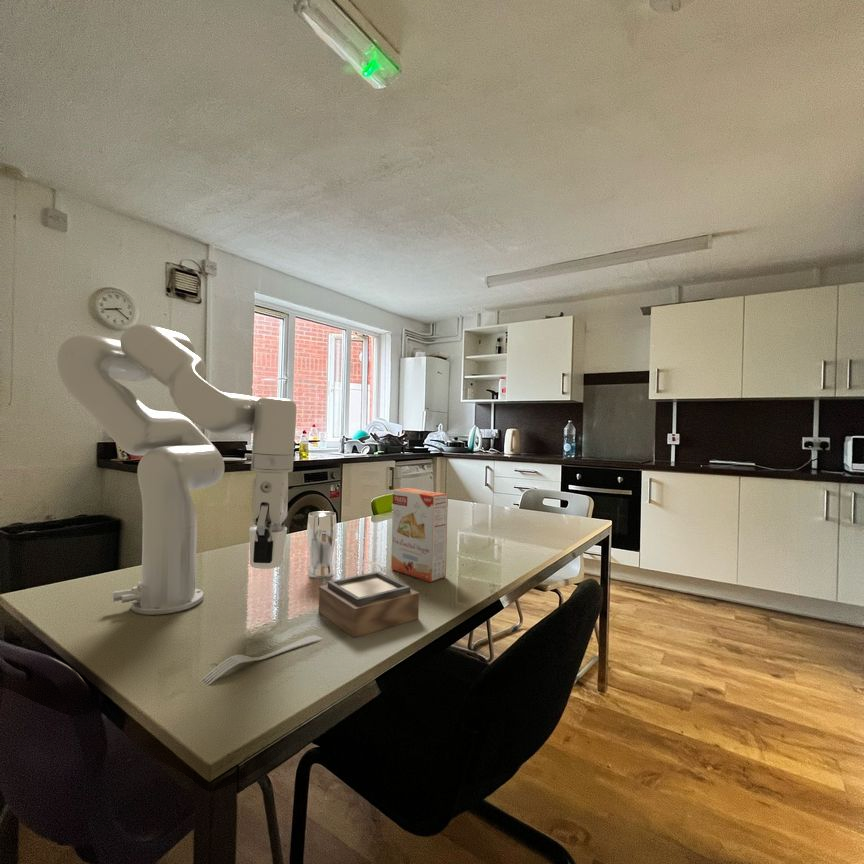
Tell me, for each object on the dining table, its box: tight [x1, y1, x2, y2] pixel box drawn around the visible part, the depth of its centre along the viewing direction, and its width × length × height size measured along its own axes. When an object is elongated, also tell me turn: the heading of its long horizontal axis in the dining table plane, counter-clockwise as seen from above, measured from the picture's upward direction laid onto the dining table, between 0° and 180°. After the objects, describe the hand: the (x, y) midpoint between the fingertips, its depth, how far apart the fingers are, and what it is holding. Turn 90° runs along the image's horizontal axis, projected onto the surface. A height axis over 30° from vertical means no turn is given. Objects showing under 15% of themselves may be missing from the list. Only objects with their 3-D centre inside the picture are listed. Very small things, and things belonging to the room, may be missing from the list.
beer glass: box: [306, 510, 337, 579], centre depth 114 cm, size 7×7×15 cm
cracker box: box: [390, 487, 449, 583], centre depth 117 cm, size 14×6×21 cm, turn 48°
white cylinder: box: [248, 524, 288, 570], centre depth 89 cm, size 7×7×7 cm
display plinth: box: [318, 571, 420, 638], centre depth 91 cm, size 14×14×6 cm
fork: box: [200, 635, 324, 687], centre depth 73 cm, size 3×21×3 cm, turn 140°
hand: (266, 555), depth 89 cm, fingers closed on white cylinder, 6 cm apart
